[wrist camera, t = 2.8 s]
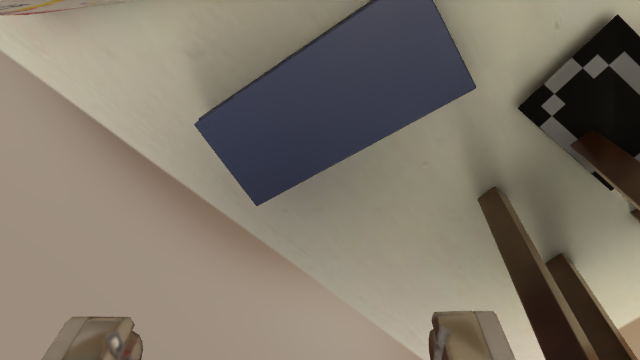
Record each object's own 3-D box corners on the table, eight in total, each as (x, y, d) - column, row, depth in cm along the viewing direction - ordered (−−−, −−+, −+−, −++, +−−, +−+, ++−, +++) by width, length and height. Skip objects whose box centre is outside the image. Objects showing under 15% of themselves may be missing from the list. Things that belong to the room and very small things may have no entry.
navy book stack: (266, 187, 31) (250, 214, 27) (209, 110, 29) (184, 128, 25) (467, 76, 25) (481, 92, 21) (414, -30, 23) (419, -32, 19)
